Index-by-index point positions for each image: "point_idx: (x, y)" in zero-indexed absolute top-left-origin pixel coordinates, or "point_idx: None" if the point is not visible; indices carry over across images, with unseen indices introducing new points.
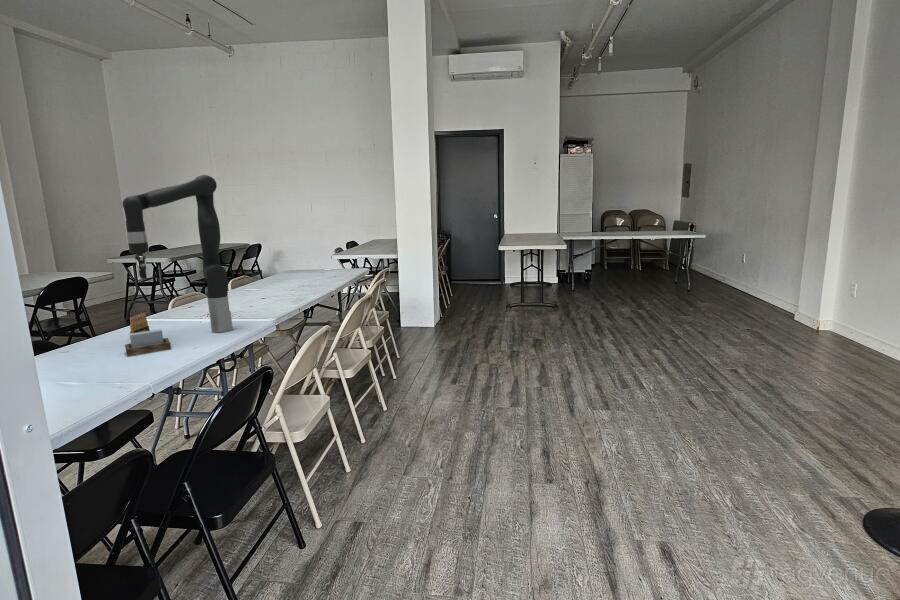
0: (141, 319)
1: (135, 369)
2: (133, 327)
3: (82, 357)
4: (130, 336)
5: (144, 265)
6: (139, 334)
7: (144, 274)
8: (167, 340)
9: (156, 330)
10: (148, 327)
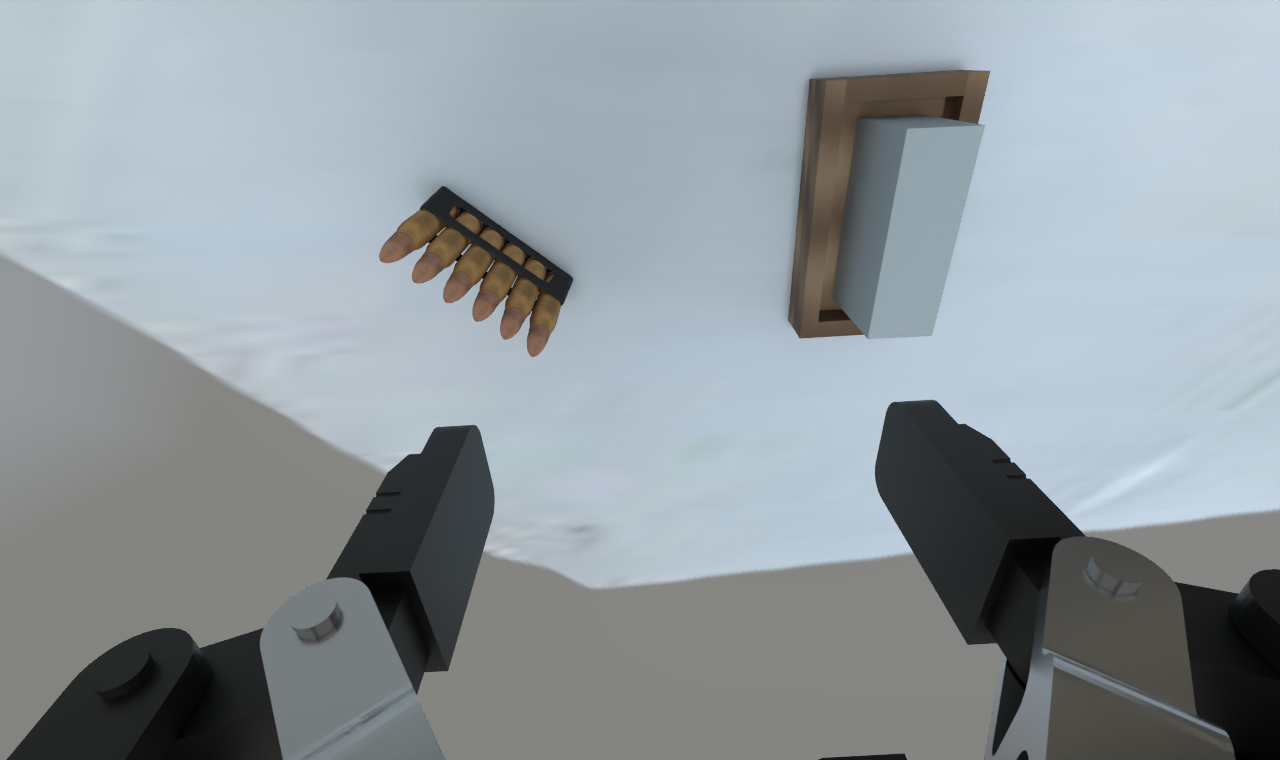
0: (442, 267)
1: (1205, 276)
2: (555, 311)
3: (747, 477)
4: (928, 330)
5: None
6: (944, 281)
7: (1021, 490)
8: (916, 86)
9: (926, 166)
10: (432, 206)
